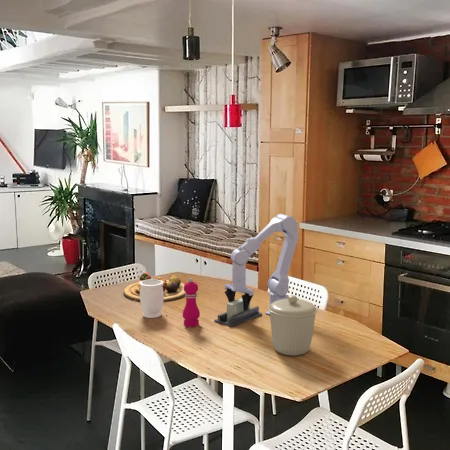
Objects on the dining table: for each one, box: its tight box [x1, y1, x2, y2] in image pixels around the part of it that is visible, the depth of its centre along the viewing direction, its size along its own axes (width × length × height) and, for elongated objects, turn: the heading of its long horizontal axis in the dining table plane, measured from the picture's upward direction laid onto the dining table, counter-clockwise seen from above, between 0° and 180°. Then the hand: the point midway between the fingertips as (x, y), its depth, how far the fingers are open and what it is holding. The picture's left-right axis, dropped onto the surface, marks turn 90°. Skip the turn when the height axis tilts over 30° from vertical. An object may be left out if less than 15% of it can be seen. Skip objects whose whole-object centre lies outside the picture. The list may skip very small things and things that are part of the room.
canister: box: [267, 294, 319, 357], centre depth 205 cm, size 18×18×21 cm
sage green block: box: [226, 297, 251, 318], centre depth 241 cm, size 12×4×7 cm, turn 139°
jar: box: [140, 278, 164, 319], centre depth 244 cm, size 11×10×15 cm
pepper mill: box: [182, 277, 201, 328], centre depth 232 cm, size 7×7×20 cm
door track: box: [214, 305, 263, 328], centre depth 241 cm, size 20×10×3 cm, turn 139°
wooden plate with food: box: [123, 272, 186, 303], centre depth 278 cm, size 32×32×8 cm
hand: (238, 308), depth 241 cm, fingers open, 7 cm apart
